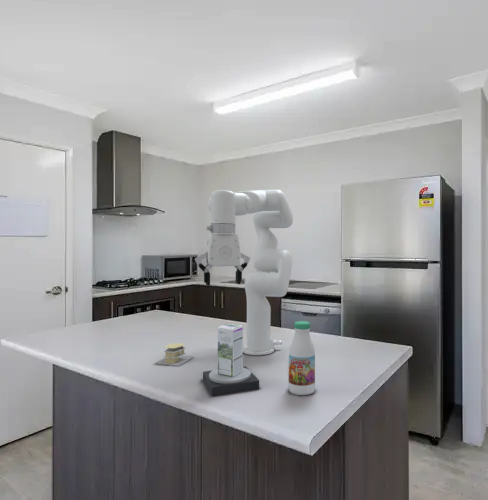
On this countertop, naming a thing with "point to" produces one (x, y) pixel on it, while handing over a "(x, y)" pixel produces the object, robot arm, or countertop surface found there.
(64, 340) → the countertop surface
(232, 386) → the scale
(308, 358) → the milk bottle
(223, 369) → the syrup box
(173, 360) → the stacked layers on plate
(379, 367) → the countertop surface
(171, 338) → the countertop surface
